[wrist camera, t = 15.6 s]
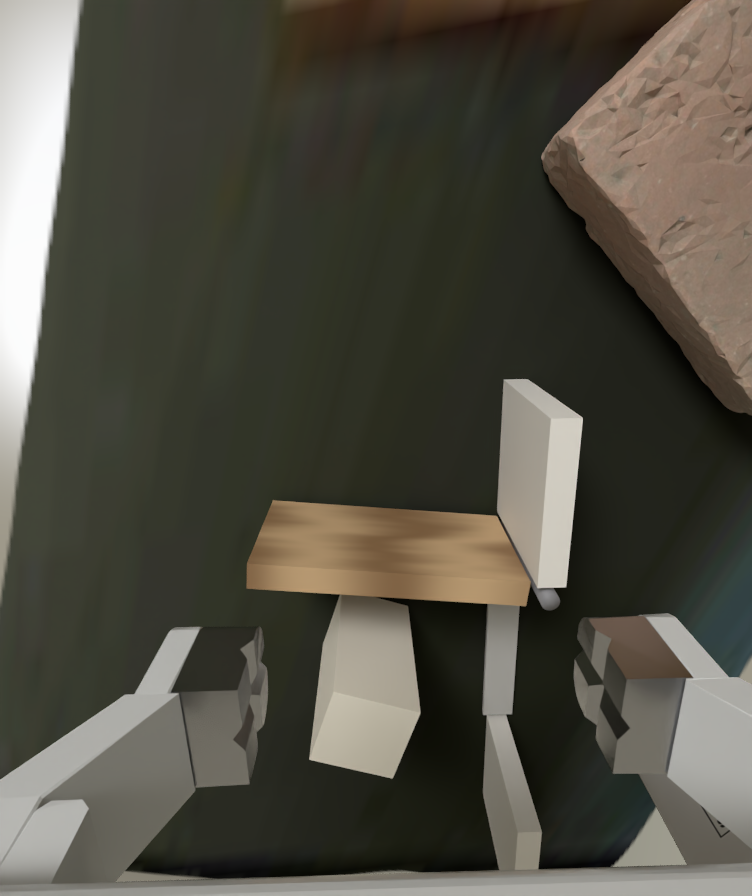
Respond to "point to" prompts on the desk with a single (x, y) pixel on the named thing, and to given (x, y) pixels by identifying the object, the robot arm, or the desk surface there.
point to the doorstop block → (366, 687)
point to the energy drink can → (694, 825)
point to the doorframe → (546, 564)
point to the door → (386, 554)
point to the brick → (676, 185)
